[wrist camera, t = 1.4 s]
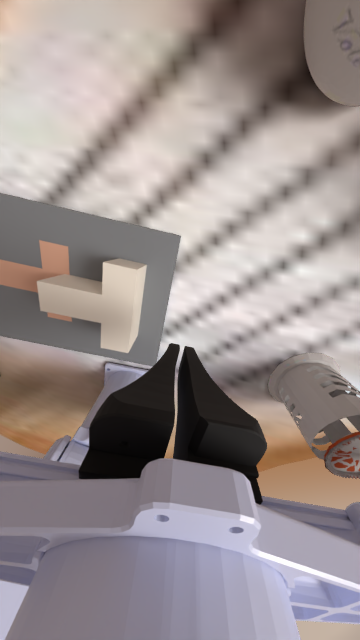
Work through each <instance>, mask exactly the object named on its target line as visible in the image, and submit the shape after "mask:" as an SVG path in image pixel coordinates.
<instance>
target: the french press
mask: <svg viewBox="0 0 360 640" xmlns="http://www.w3.org/2000/svg"><path fill="white" fill-rule="evenodd" d="M348 383H349V382H348V381H347V380H346V379H344V378H343V377H342V376H341V375H340V366H339V365H338V364H337V362H336V361H335V360H334V359H333V358H331V357H329V356H327V355H324V354H322V353H305V354H301V355H297V356H293V357H291V358H289V359H288V360H286V361H284V362H283V363H281V364H279V365H278V366H277V368H276V369H275V370H274V371H273V372H272V373H271V375H270V378H269V382H268V388H269V392H270V394H271V395H272V396H273V397H274V398H275V399H276V400H277V401H279V402H281V403H284V404H285V406H286V408H288V409H287V410H288V411H289V413H290V414H291V412H292V414H293V415H292V414H291V416H293V417H292V418H294V421H295V423H296V425H297V427H298V426H299V427H300V428H299V427H298V428H299V429H300V431H301V433H302V435H303V437H304V438H305V440H306V442H307V443H308V445H309V446H310V448H311V450H312V451H313V452H314V453H315V455H316V456H317V457H318V458H320V459H323V460H324V461H325V467H326V468H327V469H328V470H329V471H330V472H331V473H333V474H334V475H337V476H338V475H339V476H341V477H345V478H347V477H348V478H350V477H351V478H355V479H356V478H359V479H360V398H359V397H357V396H356V394H358V395H360V391H358V390H357V389H356V388H355V387H354V386H352V385H351V384H350V383H349V384H348ZM348 386H350V387H351V389H350V388H348ZM345 390H346V391H351V392H350V393H349V394H348V393H347V392H345ZM356 391H358V392H359V393H358V392H356ZM297 415H301V416H302V419H299V418H297V417H296V416H297ZM342 418H347V419H348V420H349V421H350V422H351V423H352V424H353V425H354V427H355V428H356V429H357V430H358V431H359V432H355V433H351V432H350V431H349V430H348V429H347V427H346V426H345V425H344V424H343V423H342V422H341V420H340V419H342ZM296 420H297V421H298V423H299V424H298V423H297V422H296ZM322 431H324V433H325V434H326V436H324V437H323V438H319V439H314V437H315V436H316V435H317V433H320V432H322ZM330 441H331V443H332V445H331V446H329V448H328V449H327V450H325V451H320V450H318V449H316V448H315V447H313V446H312V445H311V443H314V444H316V445H322V444H327V443H328V442H330Z"/></svg>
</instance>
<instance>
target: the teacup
mask: <svg viewBox="0 0 360 640" xmlns="http://www.w3.org/2000/svg"><path fill="white" fill-rule="evenodd" d="M304 47H305V56H306V60H307V65H308V67H309V70H310V73H311V76H312V78H313V80H314V82H315V83H316V85H317V86H318V88H319V89H320V90H321V91H322V92H323V93H324V94H325V95H326V96H327V97H328V98H330V99H331V100H333V101H335V102H337V103H340V104H343V105H348V106H360V0H306V6H305V14H304Z"/></svg>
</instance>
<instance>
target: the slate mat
mask: <svg viewBox="0 0 360 640" xmlns="http://www.w3.org/2000/svg"><path fill="white" fill-rule="evenodd" d="M180 238H181V236H179V235H175V234H171V233H166V232H162V231H158V230H154V229H149V228H145V227H141V226H137V225H133V224H128V223H124V222H120V221H116V220H112V219H107V218H103V217H99V216H95V215H91V214H86V213H82V212H78V211H74V210H69V209H65V208H61V207H57V206H53V205H48V204H44V203H40V202H36V201H32V200H27V199H23V198H19V197H15V196H11V195H6V194H2V193H0V336H4V337H9V338H14V339H19V340H24V341H29V342H34V343H39V344H44V345H49V346H54V347H59V348H64V349H69V350H74V351H79V352H84V353H89V354H94V355H99V356H104V357H109V358H114V359H119V360H124V361H129V362H134V363H139V364H144V365H149V366H154V365H155V364H156V361H157V356H158V351H159V346H160V341H161V335H162V330H163V325H164V320H165V315H166V310H167V305H168V300H169V294H170V289H171V284H172V279H173V274H174V269H175V264H176V259H177V253H178V248H179V243H180ZM119 258H120V259H125V260H129V261H133V262H138V263H142V264H147V268H146V276H145V283H144V291H143V299H142V307H141V314H140V322H139V330H138V336H137V338H136V340H135V341H134V343H133V345H132V347H131V349H130V351H129V353H124V352H119V351H114V350H109V349H104V348H101V323H98V322H93V321H88V320H83V319H78V318H74V317H69V316H64V315H59V314H54V313H49V312H44V311H40V303H39V295H38V288H37V281H38V280H42V279H46V278H50V277H54V276H58V275H62V274H68V275H72V276H77V277H82V278H86V279H91V280H95V281H100V282H102V277H103V262H105V261H110V260H114V259H119Z"/></svg>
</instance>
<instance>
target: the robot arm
mask: <svg viewBox="0 0 360 640" xmlns="http://www.w3.org/2000/svg"><path fill="white" fill-rule="evenodd" d="M179 350H180V346H179V345H177V344H173V343H171V344H169V347H168V349H167V350H166V352H165V353H164V355H163V356H162V357H161V358H160V360H159V361H158V362H157V363H156V364H155V365H154V366H153V367H152V368H151V369H150V370H144V369H139V368H134V367H129V366H124V365H119V364H114V363H106V365H105V378H104V388H103V390H102V391H101V393H100V395H99V396H98V398H97V400H96V401H95V403H94V405H93V407H92V408H91V410H90V412H89V413H88V415H87V417H86V418H85V420H84V422H83V424H82V425H81V427H79V429H78V430H77V432H76V434H75V435H74V437H73V439H72V440H71V441H70V439H71V437H70V436H68V435H65V436H64V437H63V438H60V439H58V440H56V441H55V443H54V444H53V445H52V447H51V448H50V449H49V451H48V452H47V454H46V455H45V456H44V458H43V459H41V458H35V457H29V456H24V455H18V454H12V453H6V452H0V640H301V639H300V636H299V631H298V628H297V625H296V621H295V620H298V621H316V622H334V623H349V624H360V502H356V503H352V504H350V505H349V506H348V507H347V508H346V509H345V510H341V509H335V508H329V507H323V506H318V505H312V504H306V503H300V502H294V501H288V500H282V499H276V498H270V497H265V496H261V493H260V490H259V486H258V482H257V479H256V478H258V476H259V474H258V471H257V467H256V465H257V464H258V462H259V461H260V459H261V458H262V456H263V455H264V453H265V451H266V449H267V443H266V440H265V438H264V435H263V432H262V429H261V427H260V425H259V423H258V421H257V420H256V419H255V418H253V417H252V416H251V415H249V414H248V413H247V412H245V411H244V410H243V409H241V408H240V407H239V406H238V405H237V404H236V403H234V402H233V401H232V400H231V399H230V398H229V397H228V396H227V395H226V394H225V393H224V392H223V391H222V390H221V389H220V388H219V387H218V386H217V385H216V383H215V382H214V381H213V380H212V378H211V377H210V376H209V374H208V373H207V371H206V370H205V368H204V367H203V365H202V363H201V361H200V360H199V358H198V356H197V354H196V352H195V350H194V348H192V347H187V346H185V348H184V352H183V356H182V359H181V363H180V367H179V374H178V413H177V425H176V435H175V445H174V454H173V459H165V458H164V456H165V453H166V450H167V446H168V443H169V440H170V436H171V433H172V430H173V427H174V419H175V404H174V380H175V367H176V362H177V358H178V354H179ZM108 368H109V369H108Z"/></svg>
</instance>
